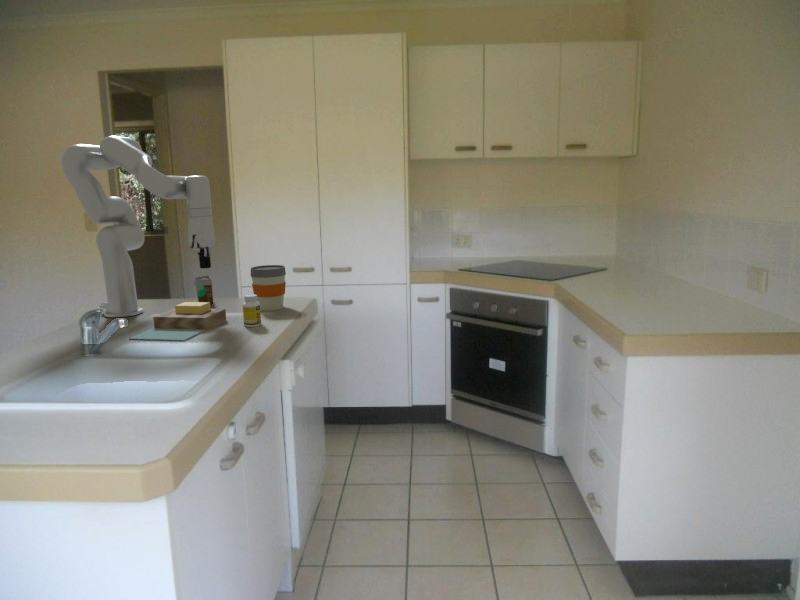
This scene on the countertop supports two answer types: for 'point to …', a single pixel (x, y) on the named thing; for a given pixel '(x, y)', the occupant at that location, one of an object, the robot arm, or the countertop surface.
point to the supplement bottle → (251, 311)
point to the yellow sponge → (193, 307)
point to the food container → (204, 289)
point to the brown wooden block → (189, 319)
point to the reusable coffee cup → (269, 286)
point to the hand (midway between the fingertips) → (205, 267)
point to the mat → (168, 334)
